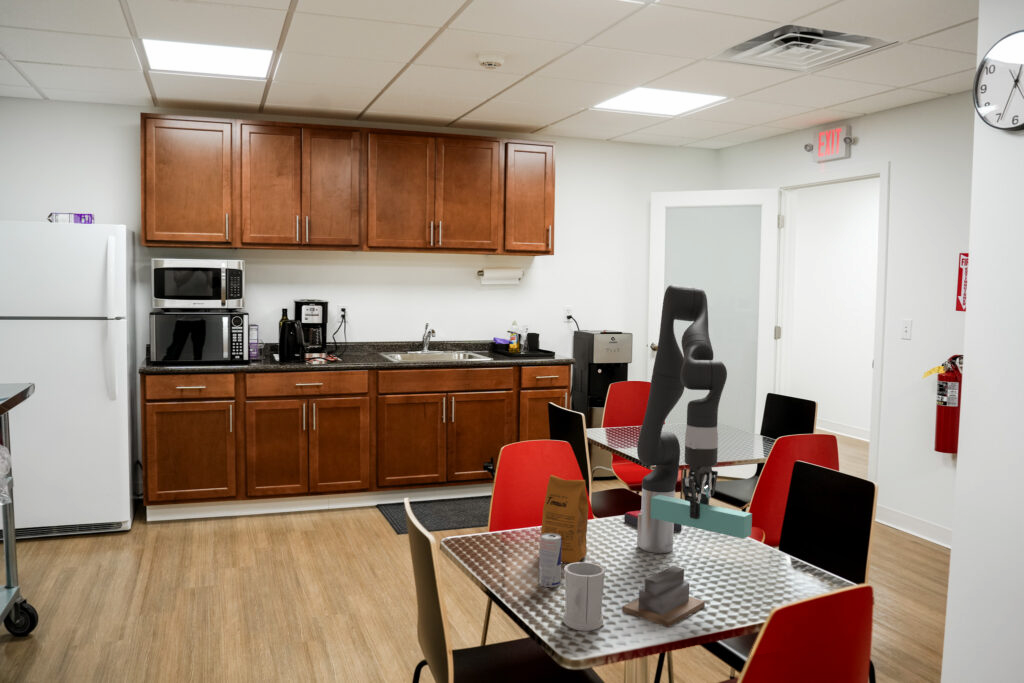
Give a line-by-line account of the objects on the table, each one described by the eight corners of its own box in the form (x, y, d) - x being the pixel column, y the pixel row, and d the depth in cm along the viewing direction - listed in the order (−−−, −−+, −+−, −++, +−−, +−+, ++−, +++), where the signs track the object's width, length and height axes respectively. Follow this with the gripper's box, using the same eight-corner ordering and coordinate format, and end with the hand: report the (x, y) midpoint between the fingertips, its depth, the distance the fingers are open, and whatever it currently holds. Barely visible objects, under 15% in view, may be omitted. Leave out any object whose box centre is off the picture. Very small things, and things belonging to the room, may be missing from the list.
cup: (608, 634, 162) (610, 579, 161) (565, 635, 161) (567, 579, 160) (599, 614, 172) (600, 561, 171) (558, 614, 171) (560, 561, 171)
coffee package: (552, 547, 217) (554, 470, 216) (591, 556, 210) (594, 477, 209) (534, 557, 209) (536, 477, 207) (574, 567, 202) (577, 484, 201)
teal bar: (650, 517, 189) (651, 497, 188) (658, 514, 192) (659, 494, 191) (743, 538, 173) (744, 516, 173) (751, 535, 176) (751, 513, 176)
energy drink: (563, 581, 191) (564, 534, 190) (557, 589, 186) (558, 540, 185) (542, 578, 193) (543, 531, 192) (536, 586, 188) (537, 538, 187)
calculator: (651, 507, 249) (682, 517, 236) (651, 520, 249) (682, 531, 236) (623, 511, 244) (653, 521, 231) (623, 524, 244) (653, 536, 231)
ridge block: (622, 611, 174) (623, 575, 173) (659, 592, 186) (660, 558, 185) (668, 627, 166) (670, 590, 165) (704, 606, 178) (705, 571, 177)
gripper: (700, 439, 189) (698, 507, 190) (672, 446, 178) (670, 519, 179) (729, 443, 184) (727, 513, 185) (701, 450, 173) (699, 525, 174)
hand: (699, 516), depth 182 cm, fingers closed on teal bar, 4 cm apart
